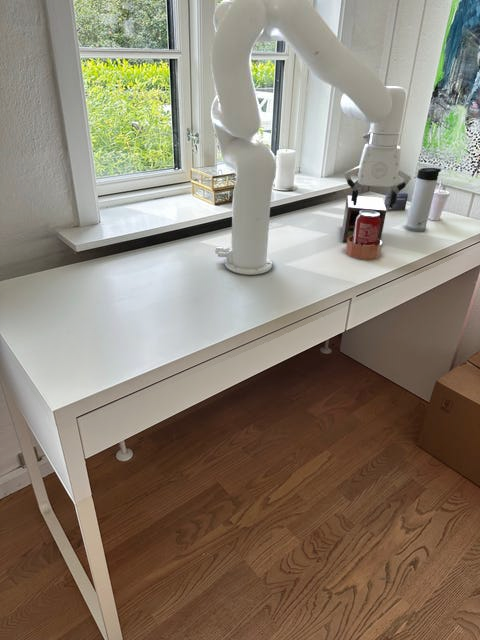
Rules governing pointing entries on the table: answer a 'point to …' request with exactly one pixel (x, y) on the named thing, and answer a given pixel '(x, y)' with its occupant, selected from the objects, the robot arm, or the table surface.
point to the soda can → (366, 228)
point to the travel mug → (422, 199)
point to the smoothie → (438, 203)
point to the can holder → (363, 250)
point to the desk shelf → (361, 204)
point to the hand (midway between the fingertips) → (372, 205)
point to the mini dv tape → (399, 203)
